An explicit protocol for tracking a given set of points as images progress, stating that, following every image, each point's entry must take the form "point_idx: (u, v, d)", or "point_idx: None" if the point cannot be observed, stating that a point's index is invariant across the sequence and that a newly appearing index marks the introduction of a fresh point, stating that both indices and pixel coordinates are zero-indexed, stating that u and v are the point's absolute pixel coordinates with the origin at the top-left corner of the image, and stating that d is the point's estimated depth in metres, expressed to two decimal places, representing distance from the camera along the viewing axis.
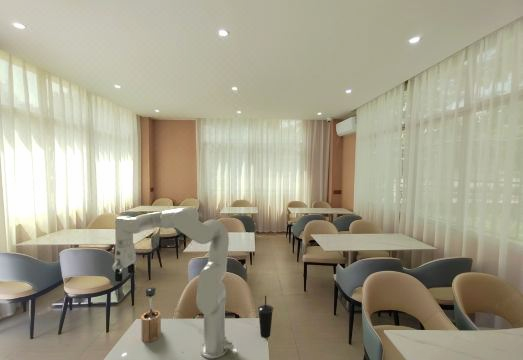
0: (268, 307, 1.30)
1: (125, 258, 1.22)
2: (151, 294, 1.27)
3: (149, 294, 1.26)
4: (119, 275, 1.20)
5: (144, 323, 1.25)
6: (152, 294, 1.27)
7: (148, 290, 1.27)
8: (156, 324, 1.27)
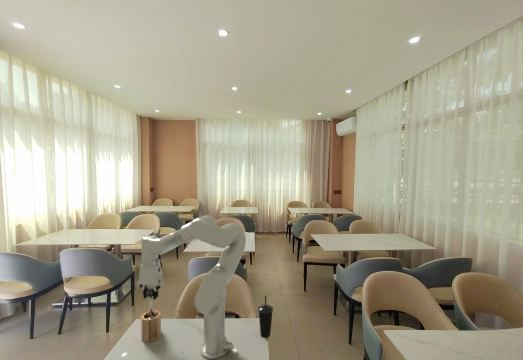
0: (268, 307, 1.30)
1: None
2: (151, 294, 1.27)
3: (149, 294, 1.26)
4: None
5: (144, 323, 1.25)
6: (152, 294, 1.27)
7: (148, 290, 1.27)
8: (156, 324, 1.27)
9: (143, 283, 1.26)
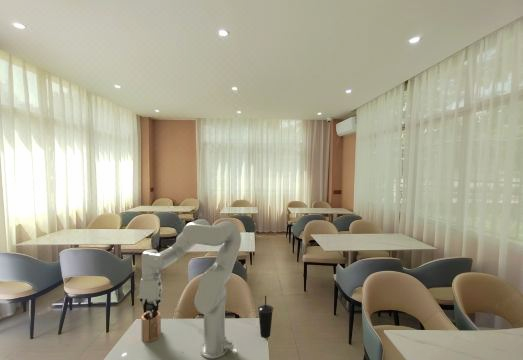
0: (268, 307, 1.30)
1: None
2: (151, 308, 1.27)
3: (149, 308, 1.27)
4: None
5: (144, 323, 1.25)
6: (152, 308, 1.27)
7: (148, 304, 1.28)
8: (156, 324, 1.27)
9: (143, 297, 1.27)
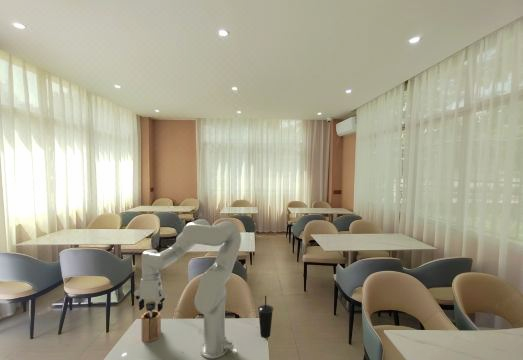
0: (268, 307, 1.30)
1: None
2: (151, 308, 1.27)
3: (149, 308, 1.27)
4: None
5: (144, 323, 1.25)
6: (152, 308, 1.27)
7: (148, 304, 1.28)
8: (156, 324, 1.27)
9: (143, 297, 1.27)
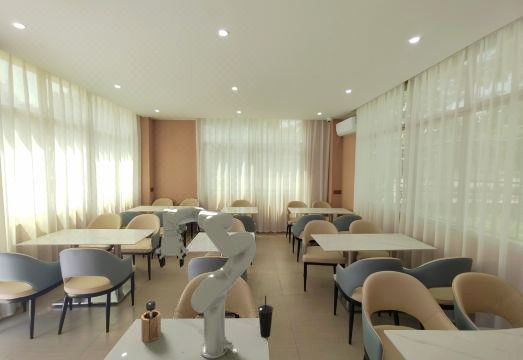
0: (268, 307, 1.30)
1: None
2: (151, 308, 1.27)
3: (149, 308, 1.27)
4: None
5: (144, 323, 1.25)
6: (152, 308, 1.27)
7: (148, 304, 1.28)
8: (156, 324, 1.27)
9: (165, 254, 1.30)
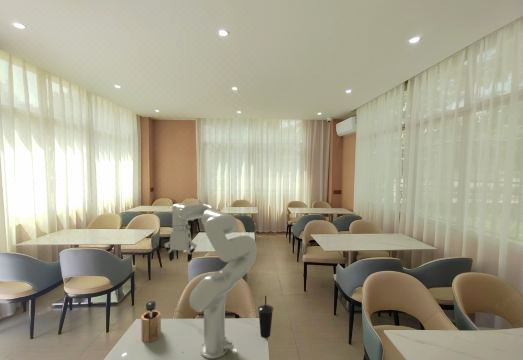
0: (268, 307, 1.30)
1: None
2: (151, 308, 1.27)
3: (149, 308, 1.27)
4: None
5: (144, 323, 1.25)
6: (152, 308, 1.27)
7: (148, 304, 1.28)
8: (156, 324, 1.27)
9: (174, 248, 1.32)
